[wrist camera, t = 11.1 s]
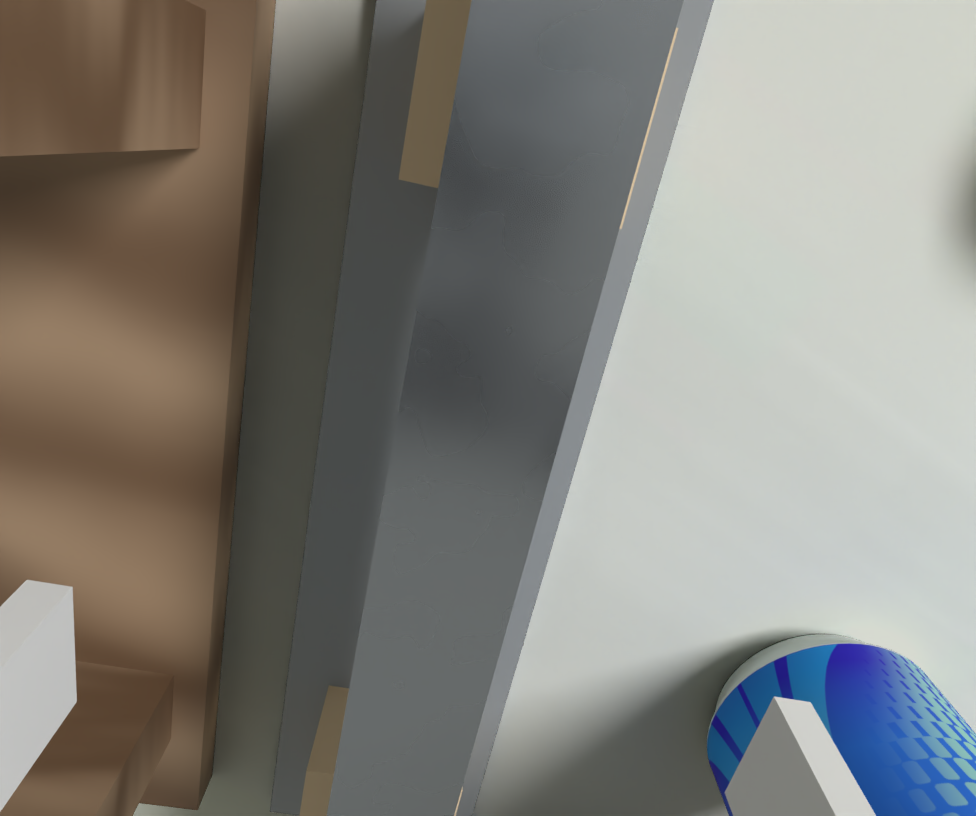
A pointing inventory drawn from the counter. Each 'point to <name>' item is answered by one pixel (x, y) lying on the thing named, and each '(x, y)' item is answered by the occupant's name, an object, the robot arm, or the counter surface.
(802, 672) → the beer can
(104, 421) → the walnut rack
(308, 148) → the counter surface
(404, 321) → the slate mat with oak rests
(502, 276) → the steel rail
